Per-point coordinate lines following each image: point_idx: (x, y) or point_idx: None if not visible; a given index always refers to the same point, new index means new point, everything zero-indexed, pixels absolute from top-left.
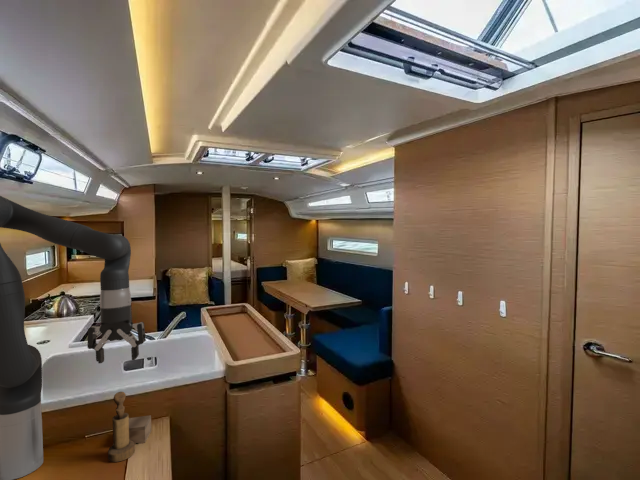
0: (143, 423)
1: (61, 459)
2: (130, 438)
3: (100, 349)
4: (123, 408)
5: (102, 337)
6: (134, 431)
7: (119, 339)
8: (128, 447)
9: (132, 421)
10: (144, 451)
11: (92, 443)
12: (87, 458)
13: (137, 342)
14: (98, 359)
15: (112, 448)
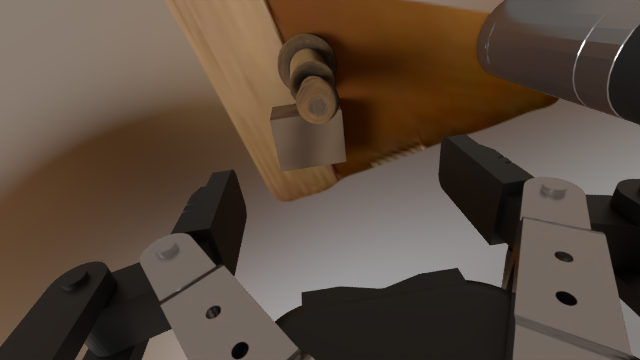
0: (281, 134)
1: (441, 64)
2: None
3: (511, 200)
4: (300, 87)
5: (614, 288)
6: (295, 113)
7: (335, 297)
8: (284, 56)
9: (316, 147)
10: (256, 71)
11: (397, 118)
12: (383, 60)
13: (137, 286)
14: (476, 144)
15: (323, 52)
